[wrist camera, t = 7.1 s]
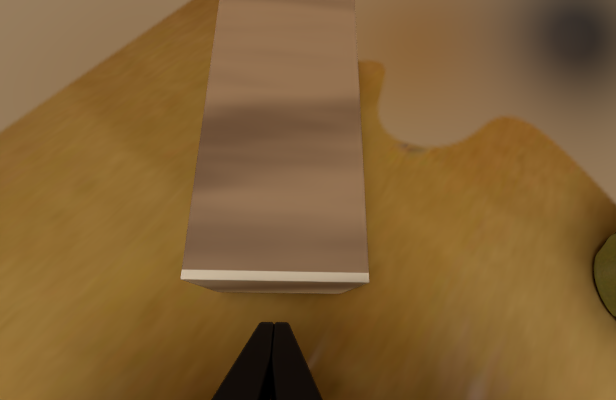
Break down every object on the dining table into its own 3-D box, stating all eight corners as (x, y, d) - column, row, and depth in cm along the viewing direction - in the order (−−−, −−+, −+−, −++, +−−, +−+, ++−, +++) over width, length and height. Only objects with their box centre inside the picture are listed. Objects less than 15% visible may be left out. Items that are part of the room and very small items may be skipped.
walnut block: (369, 282, 10) (353, -24, 15) (180, 279, 10) (224, -33, 15) (340, 293, 16) (335, 68, 21) (218, 291, 16) (241, 62, 20)
